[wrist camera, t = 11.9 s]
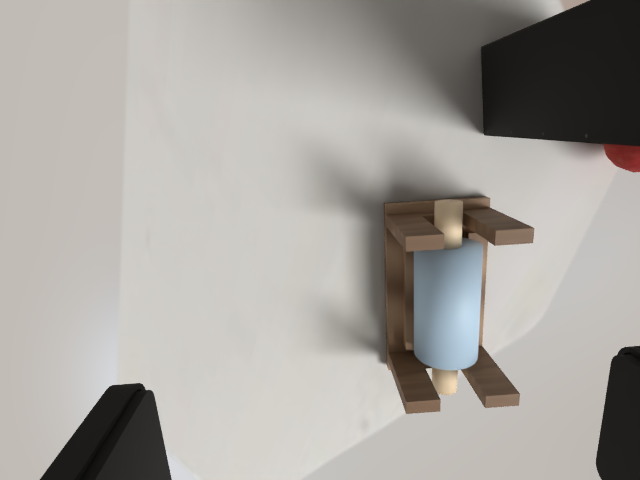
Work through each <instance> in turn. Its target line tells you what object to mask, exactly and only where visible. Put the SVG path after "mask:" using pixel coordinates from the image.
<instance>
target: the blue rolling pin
mask: <svg viewBox="0 0 640 480" xmlns="http://www.w3.org/2000/svg"><path fill="white" fill-rule="evenodd" d="M462 221H463V201H461V200H453V199H445V200H438V201H435V207H434V226H435V227H436V228H437V229H439V230H440V231H441V232H442V233H444V234H445V237H444V249H437V250H423V251H414V354H415V356H416V357H417V359H418V360H420V361H421V362H422V363H424V364H426V365H428V366H430V367H432V383H433V385H434V387H435V390H436V392H437V393H439V394H442V395H452V394H454V393H455V392H456V391H457V372H458V370H461V369H465V368H468V367H470V366H472V365H474V364H475V363H476V361H477V359H478V345H479V325H480V304H481V283H482V263H483V245H482V244H481V243H480V242H478V241H475V240H472V239H468V238H463V237H462Z"/></svg>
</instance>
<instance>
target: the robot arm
mask: <svg viewBox="0 0 640 480" xmlns="http://www.w3.org/2000/svg"><path fill="white" fill-rule="evenodd" d="M596 466H597V470H598V473H599V475H600V477H601V479H602V480H640V346H634V347H624V348H622V349H621V350H620V351H619V352H618V355H617V356H614V357H613V359H612V362H611V367H610V373H609V380H608V386H607V393H606V399H605V406H604V413H603V419H602V425H601V432H600V438H599V444H598V451H597V458H596ZM40 480H171V475H170V470H169V466H168V460H167V455H166V450H165V445H164V441H163V436H162V431H161V426H160V421H159V416H158V411H157V407H156V402H155V397H154V394H153V392H152V391H151V390H145V387H144V386H143V384H140V383H137V384H123V385H112V386H110V387H109V388H108V389H107V390H106V391H105V393H104V394H103V395H102V396H101V398H100V399H99V401H98V402H97V403H96V405H95V406H94V407H93V409H92V410H91V411H90V413H89V414H88V415H87V417H86V418H85V419H84V421H83V422H82V424H81V425H80V426H79V428H78V429H77V430H76V432H75V433H74V434H73V436H72V437H71V438H70V440H69V441H68V442H67V444H66V445H65V446H64V448H63V449H62V450H61V452H60V453H59V455H58V456H57V457H56V459H55V460H54V461H53V463H52V464H51V465H50V467H49V468H48V469H47V471H46V472H45V473H44V475H43V476H42V478H41V479H40Z"/></svg>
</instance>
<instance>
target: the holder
mask: <svg viewBox="0 0 640 480" xmlns="http://www.w3.org/2000/svg"><path fill="white" fill-rule="evenodd" d="M441 200H445V199H441ZM453 200H461V201H463V221H462V237H463V238H468V239H472V240H475V241H478V242H480V243H481V244H482V245H483V263H482V283H481V304H480V325H479V345H478V359H477V361H476V363H475V364H474V365H472V366H470V367H468V368H465V369H461V370H462V372H463V374H464V375H465V377H466V378H467V380H468V381H469V383H470V385H471V386H472V388H473V389H474V391H475V393H476V394H477V396H478V397H479V399H480V400H481V402H482V404H483V405H484V407H485V408H490V407H504V406H517V405H519V397H520V393H519V392H518V391H517V390H516V389H515V387H514V386H513V385H512V383H511V382H510V381H509V380H508V378H507V377H506V376H505V374H504V373H503V372H502V371H501V370H500V368H499V367H498V366H497V364H496V363H495V362H494V361H493V359H492V358H491V357H490V355H489V354H488V353H487V352H486V350H485V349H484V348H483V347H482V337H483V319H484V301H485V283H486V265H487V247H488V241H489V242H490V243H492V244H493V245H495V246H496V245H510V244H525V243H533V237H534V228H533V227H531V226H529V225H526V224H524V223H522V222H520V221H518V220H516V219H513V218H511V217H509V216H507V215H505V214H503V213H500V212H498V211H496V210H494V209H492V208H490V198H488V197H471V198H456V199H453ZM435 201H438V200H426V201H410V202H395V203H384V224H385V282H386V341H387V366H388V369H389V370H391V371H392V374H393V377H394V380H395V383H396V385H397V388H398V391H399V394H400V397H401V400H402V403H403V406H404V409H405V411H406V414H410V413H423V412H436V411H440V398H439V396H438V394H437V392H436V390H435V387H434V385H433V383H432V381H431V379H430V377H429V375H428V373H427V371H426V369H425V368H432V367H430V366H428V365H426V364H424V363H422V362H421V361H420V360H418V359H417V357H416V356H415V354H414V251H423V250H437V249H444V237H445V234H444V233H442V232H441V231H440V230H439V229H437V228H436V227H435V226H434V207H435Z"/></svg>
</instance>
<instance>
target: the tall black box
mask: <svg viewBox="0 0 640 480" xmlns="http://www.w3.org/2000/svg"><path fill="white" fill-rule="evenodd" d="M481 55H482V56H481V57H482V89H483V121H484V135H487V136H501V137H515V138H529V139H543V140H557V141H572V142H586V143H600V144H614V145H628V146H640V0H590V1H587V2H585V3H583V4H580V5H578V6H576V7H573V8H571V9H569V10H566V11H564V12H562V13H559V14H557V15H555V16H552V17H550V18H548V19H545V20H543V21H541V22H538V23H536V24H534V25H531V26H529V27H527V28H524V29H522V30H520V31H517V32H515V33H513V34H510V35H508V36H506V37H503V38H501V39H499V40H496V41H494V42H492V43H489V44H487V45H485V46H482V47H481Z"/></svg>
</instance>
